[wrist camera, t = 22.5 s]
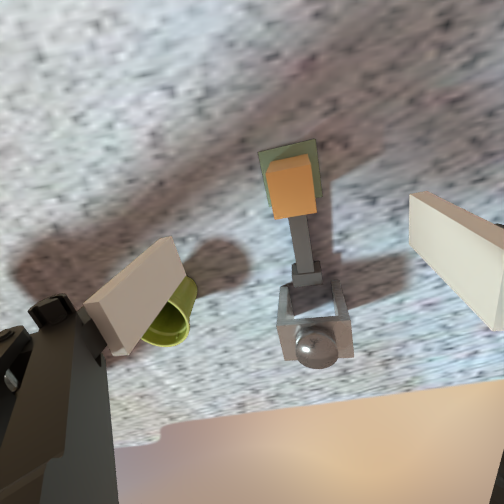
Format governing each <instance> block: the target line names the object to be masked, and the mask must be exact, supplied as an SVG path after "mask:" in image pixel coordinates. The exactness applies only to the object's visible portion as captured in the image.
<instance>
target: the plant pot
mask: <svg viewBox="0 0 504 504" xmlns="http://www.w3.org/2000/svg"><path fill="white" fill-rule="evenodd" d="M196 296H197V286H196V284H195V282H194V281H193V280H192V279H191V278H189V277H187V276H185V278H184V279H183V280H182V282H181V283H180V285H179V286H178V287H177V289H176V290H175V291H174V293H173V294H172V296H171V297H170V298H169V300H168V301H167V303H166V304H165V305H164V307H163V308H162V310H161V311H160V312H159V314H158V315H157V317H156V318H155V319H154V321H153V322H152V323H151V325H150V326H149V328H148V329H147V330H146V332H145V333H144V335H143V336H142V337H141V339H142V340H143V341H145V342H147V343H149V344H152V345H155V346H160V347H172V346H176V345H178V344H180V343H182V342H183V341H184V340H185V339H186V338H187V336H188V334H189V330H190V324H189V321H190V318H189V317H190V314H191V311H192V308H193V305H194V302H195V299H196Z"/></svg>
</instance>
